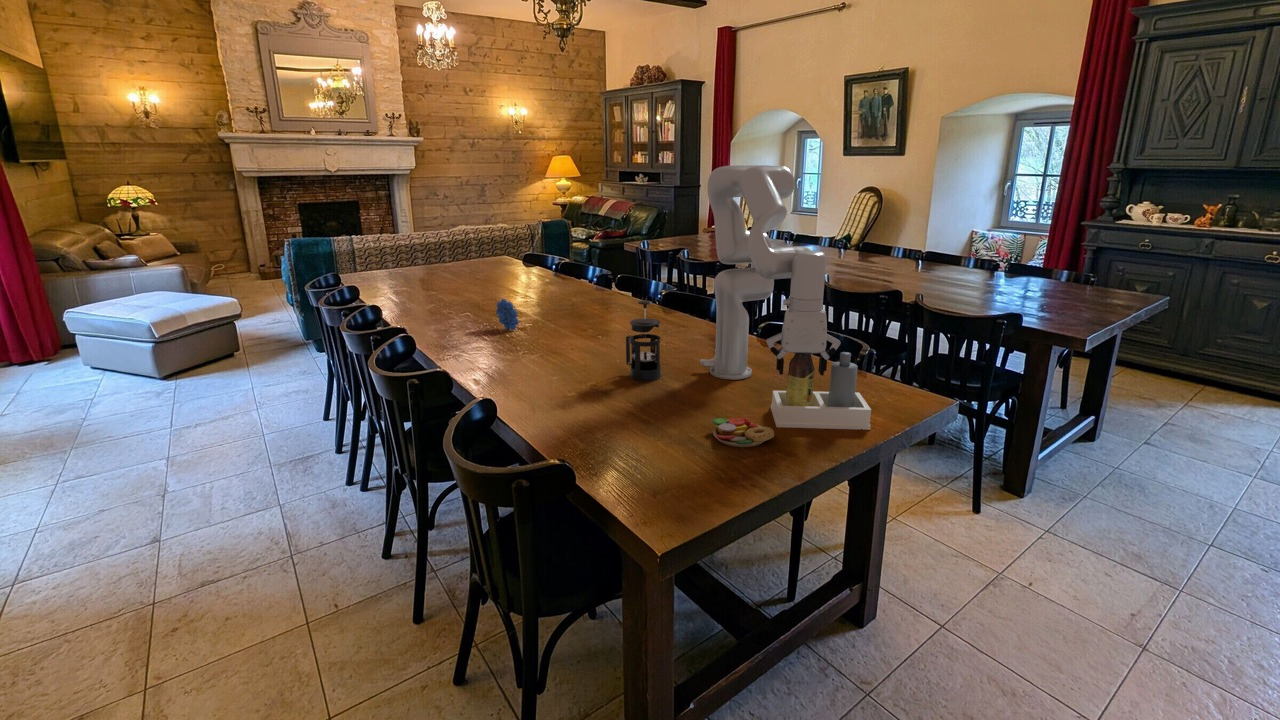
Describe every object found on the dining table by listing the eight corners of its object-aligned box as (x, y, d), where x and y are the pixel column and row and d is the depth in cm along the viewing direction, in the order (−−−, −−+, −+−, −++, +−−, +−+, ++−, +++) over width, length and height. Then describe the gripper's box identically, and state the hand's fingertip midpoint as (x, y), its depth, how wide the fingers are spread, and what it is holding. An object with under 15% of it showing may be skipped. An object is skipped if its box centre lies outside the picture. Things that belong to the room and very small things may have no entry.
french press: (668, 374, 183) (669, 300, 176) (652, 384, 176) (652, 306, 169) (636, 368, 189) (635, 296, 182) (619, 377, 182) (617, 302, 175)
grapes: (489, 329, 236) (486, 299, 232) (503, 326, 241) (500, 296, 237) (510, 334, 229) (507, 303, 226) (523, 330, 234) (521, 299, 231)
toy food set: (779, 446, 137) (780, 433, 136) (725, 454, 134) (726, 441, 133) (752, 423, 149) (753, 411, 148) (702, 430, 146) (703, 417, 145)
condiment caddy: (776, 427, 146) (780, 360, 141) (770, 408, 158) (774, 345, 152) (870, 429, 144) (878, 361, 139) (857, 410, 156) (864, 346, 150)
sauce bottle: (810, 420, 148) (819, 342, 141) (784, 417, 149) (791, 340, 142) (809, 409, 154) (817, 334, 147) (784, 407, 155) (790, 332, 148)
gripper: (770, 307, 140) (766, 377, 145) (847, 308, 138) (840, 379, 143) (766, 300, 147) (763, 367, 152) (840, 301, 145) (833, 369, 150)
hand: (800, 373), depth 148 cm, fingers open, 9 cm apart
